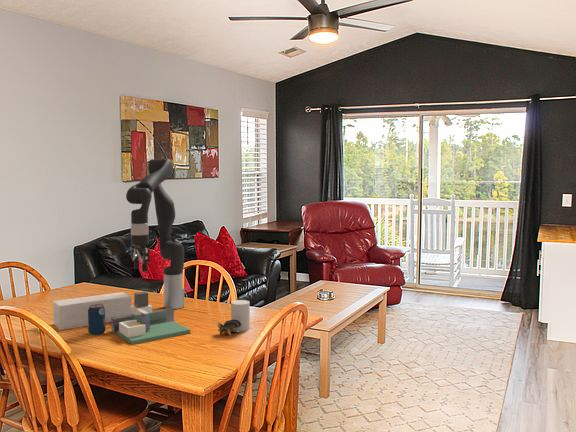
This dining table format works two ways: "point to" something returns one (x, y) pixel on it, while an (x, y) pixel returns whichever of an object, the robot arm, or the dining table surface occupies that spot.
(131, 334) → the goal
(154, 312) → the rail
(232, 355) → the dining table surface
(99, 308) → the soda can
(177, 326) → the pitch
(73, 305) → the white ribbed long block
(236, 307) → the cup
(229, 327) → the toy animal figurine
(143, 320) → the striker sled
